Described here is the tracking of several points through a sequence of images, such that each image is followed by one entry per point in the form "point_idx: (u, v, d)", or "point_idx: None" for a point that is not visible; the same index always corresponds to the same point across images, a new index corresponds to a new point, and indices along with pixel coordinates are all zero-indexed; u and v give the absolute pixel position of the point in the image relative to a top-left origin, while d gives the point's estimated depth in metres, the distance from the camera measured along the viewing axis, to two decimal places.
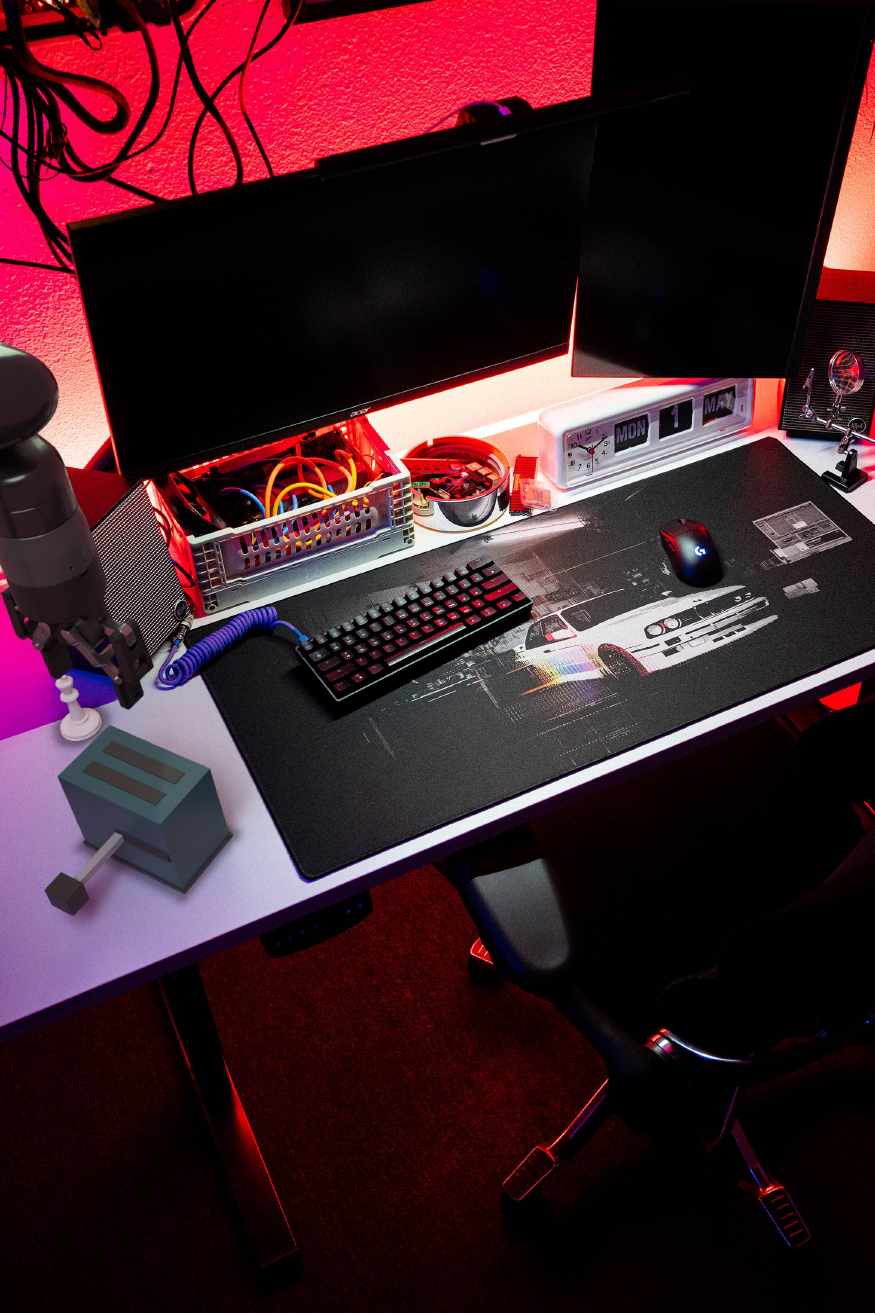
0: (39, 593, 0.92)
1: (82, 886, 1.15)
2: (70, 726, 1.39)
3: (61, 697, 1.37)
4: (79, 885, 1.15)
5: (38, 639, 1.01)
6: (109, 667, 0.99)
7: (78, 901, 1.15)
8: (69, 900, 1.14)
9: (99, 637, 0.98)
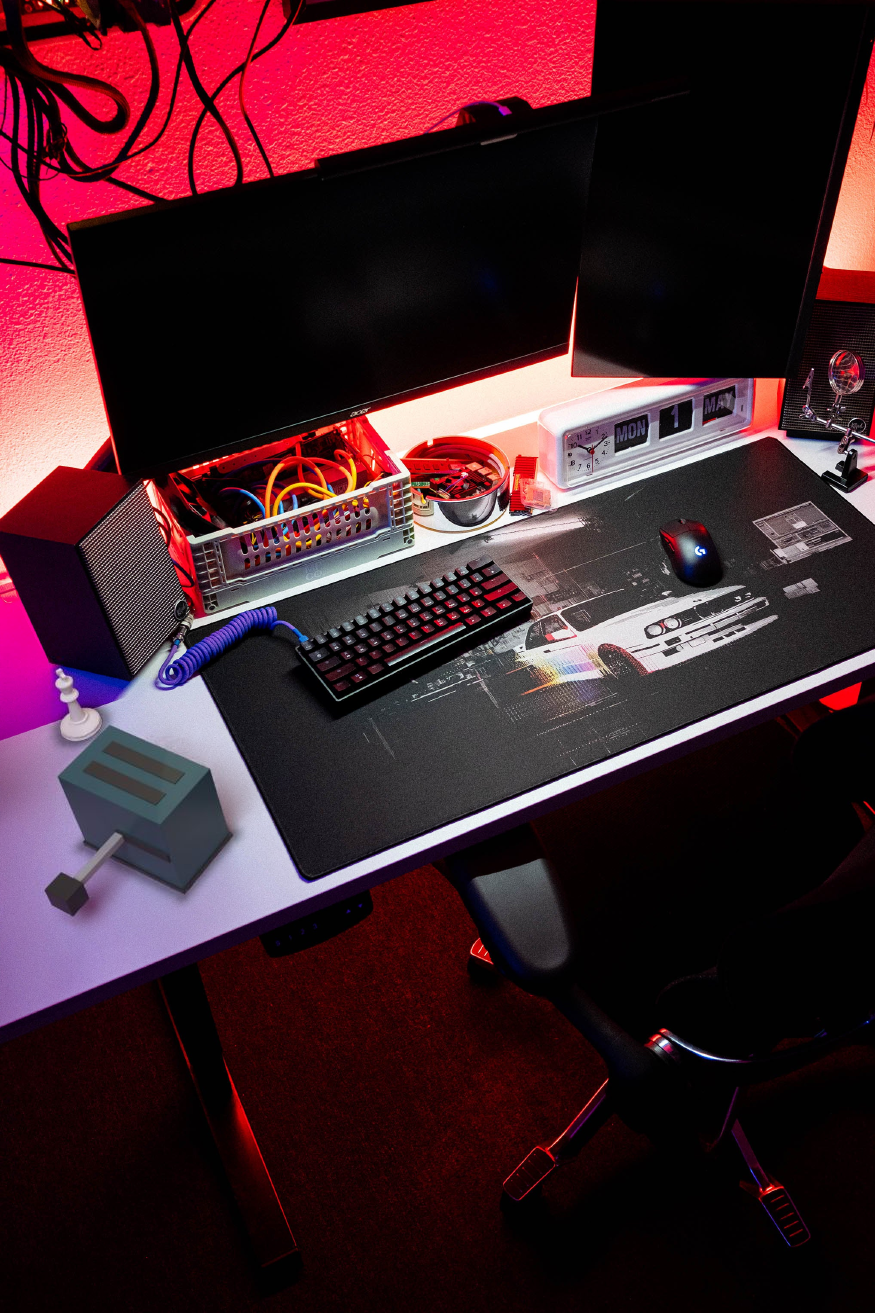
0: None
1: (82, 886, 1.15)
2: (70, 726, 1.39)
3: (61, 697, 1.37)
4: (79, 885, 1.15)
5: None
6: None
7: (78, 901, 1.15)
8: (69, 900, 1.14)
9: None
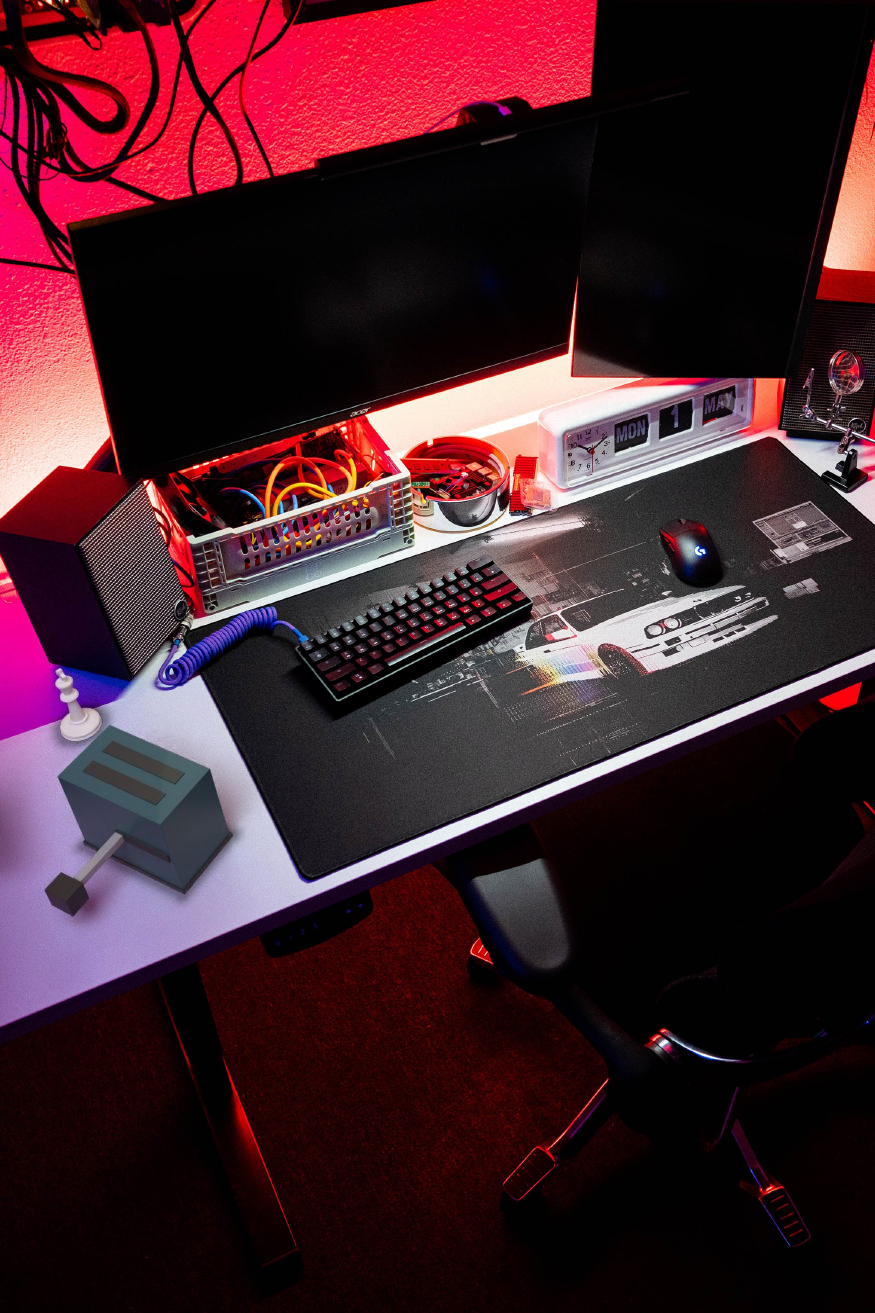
0: None
1: (82, 886, 1.15)
2: (70, 726, 1.39)
3: (61, 697, 1.37)
4: (79, 885, 1.15)
5: None
6: None
7: (78, 901, 1.15)
8: (69, 900, 1.14)
9: None
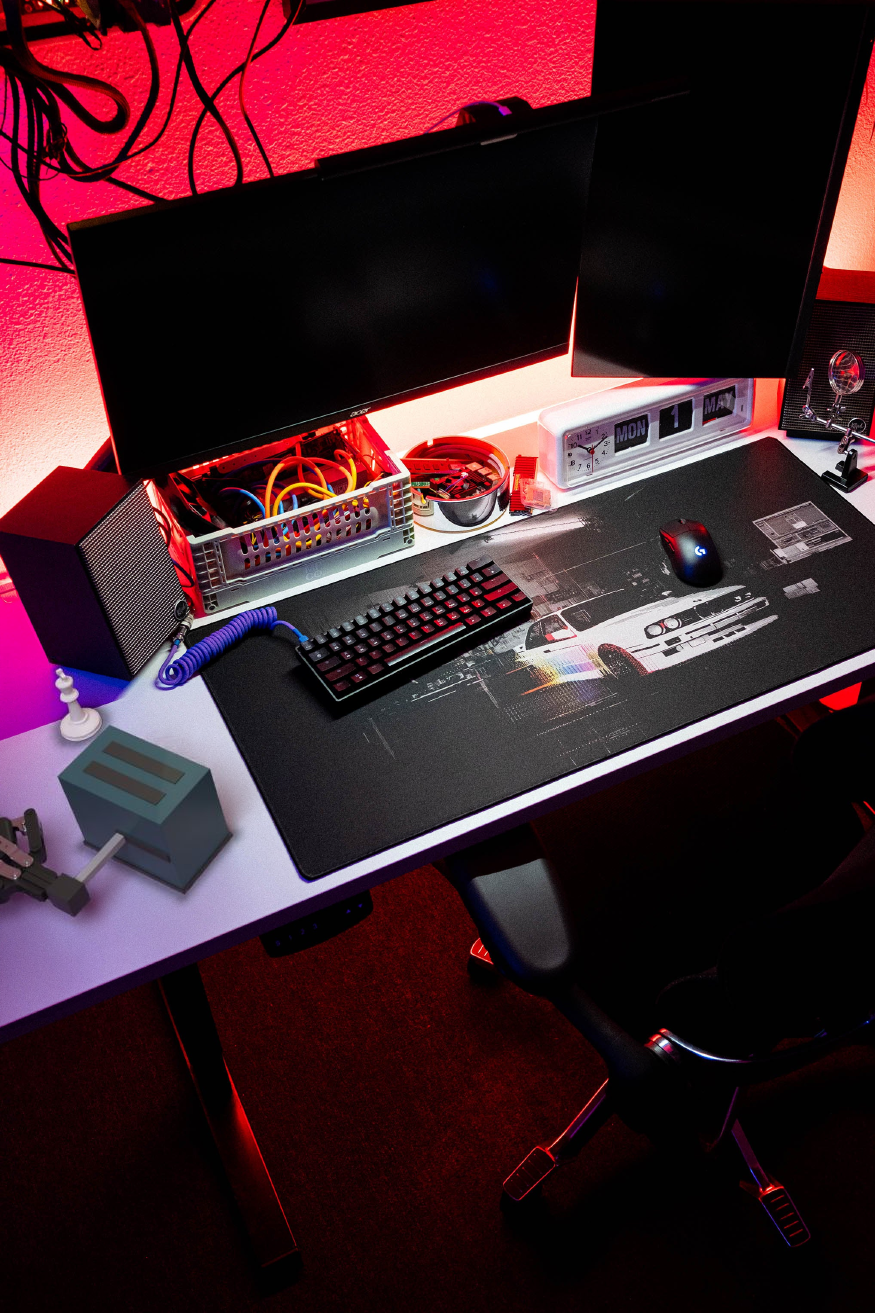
0: None
1: (83, 887, 1.15)
2: (70, 726, 1.39)
3: (61, 697, 1.37)
4: (80, 886, 1.15)
5: None
6: (22, 852, 1.18)
7: (79, 901, 1.15)
8: (70, 901, 1.14)
9: (11, 823, 1.21)
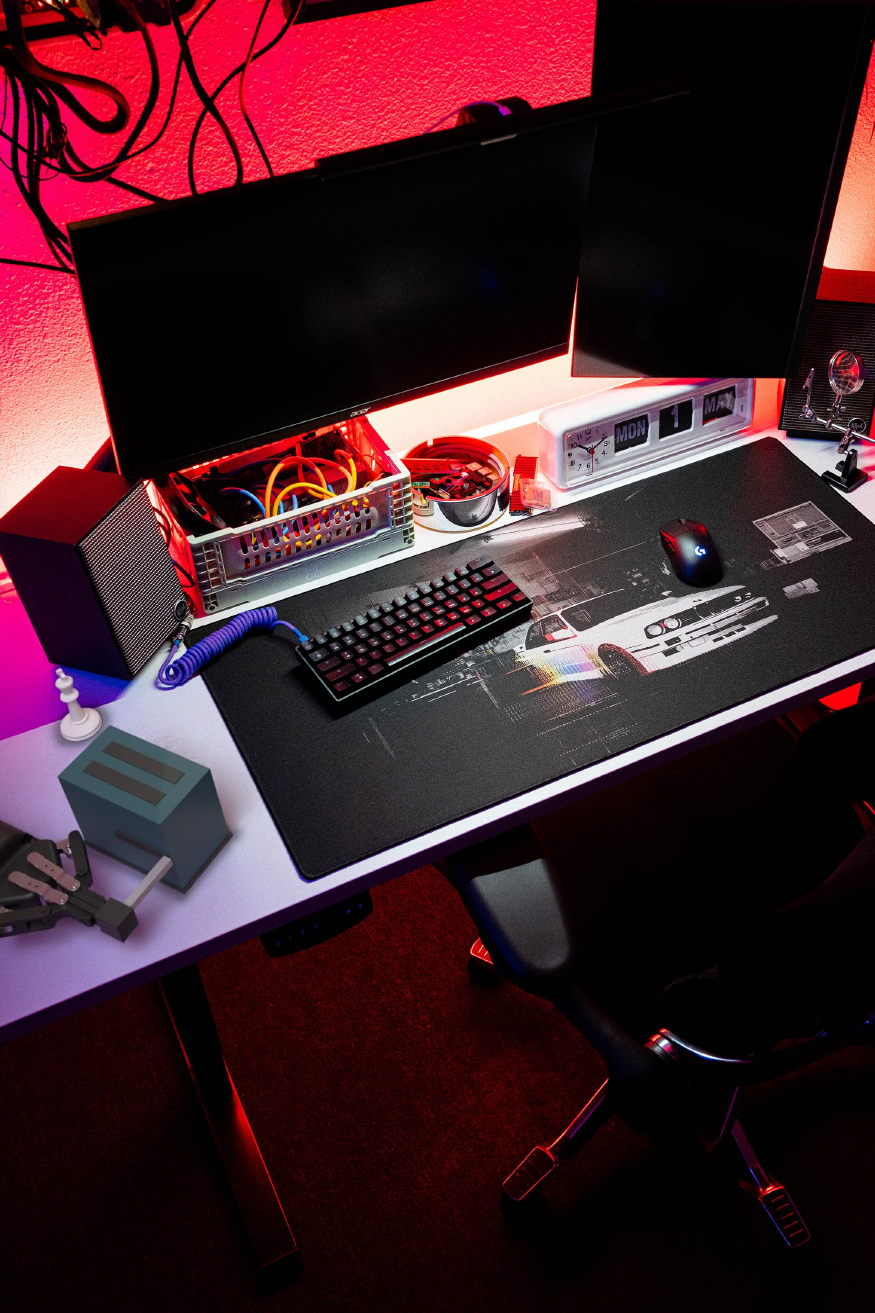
0: None
1: (132, 912, 1.13)
2: (70, 726, 1.39)
3: (61, 697, 1.37)
4: (129, 911, 1.12)
5: (41, 888, 1.14)
6: (68, 875, 1.16)
7: (128, 927, 1.13)
8: (120, 926, 1.11)
9: (55, 845, 1.19)
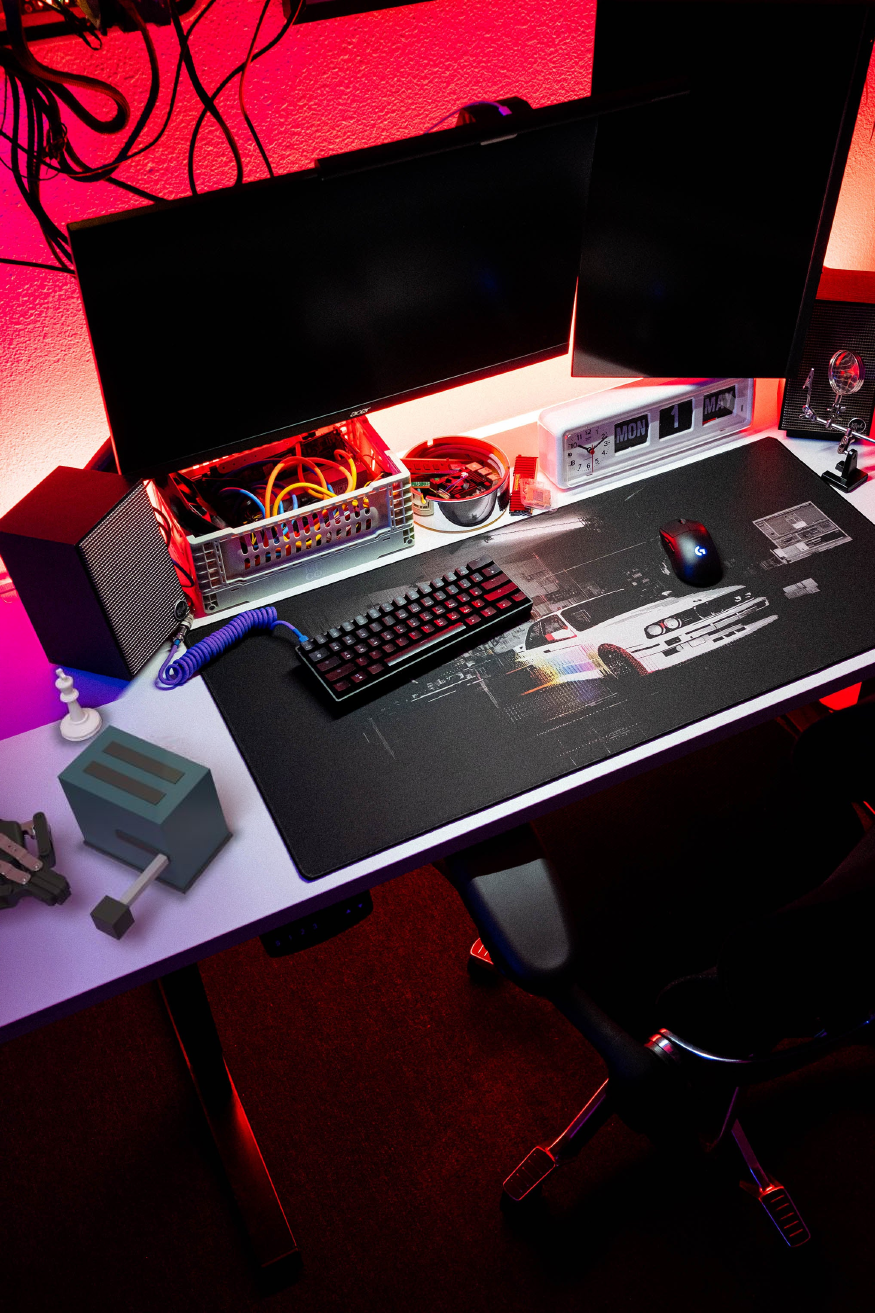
0: None
1: (128, 909, 1.13)
2: (70, 726, 1.39)
3: (61, 697, 1.37)
4: (125, 909, 1.12)
5: (3, 867, 1.16)
6: (31, 856, 1.18)
7: (124, 924, 1.13)
8: (115, 924, 1.11)
9: (20, 826, 1.21)
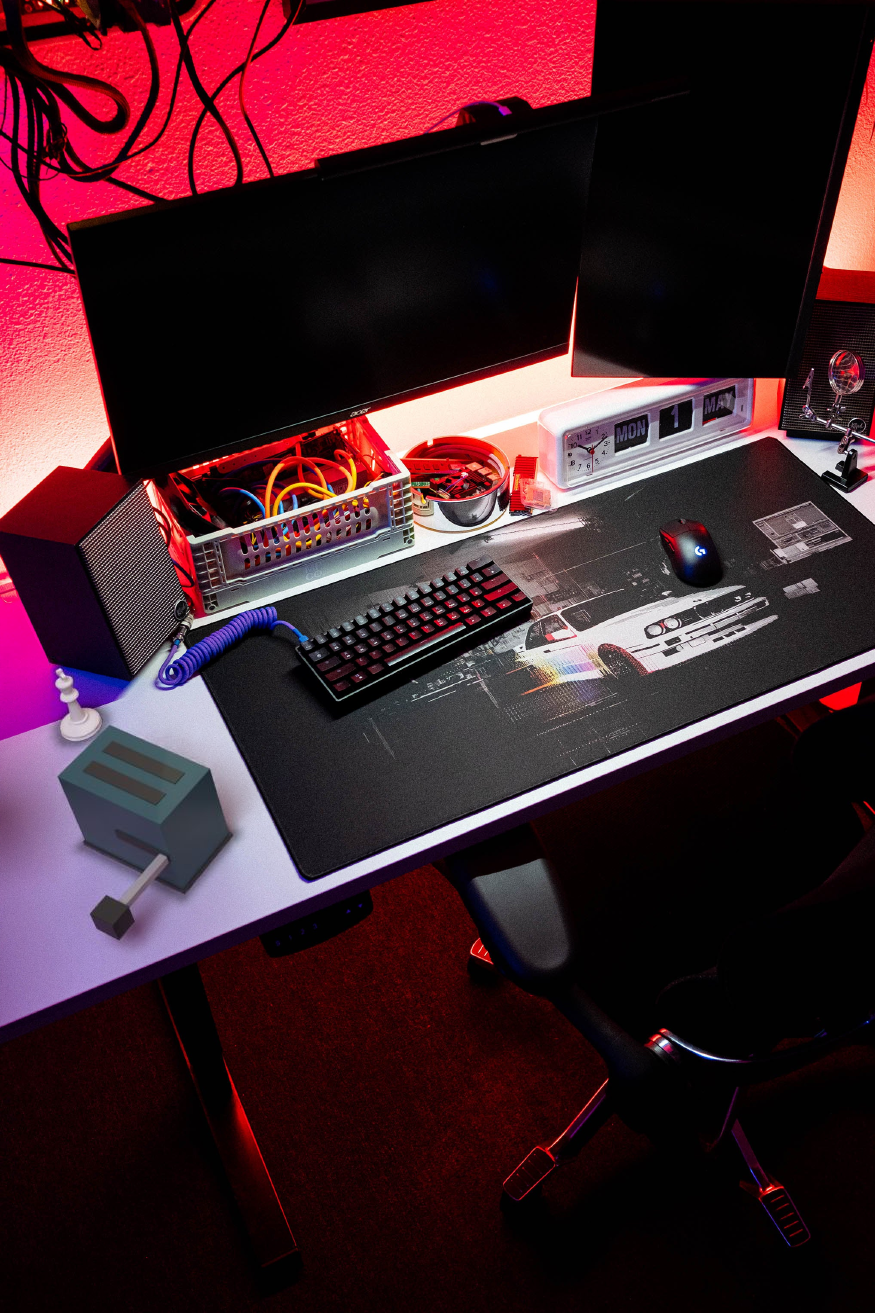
0: None
1: (128, 909, 1.13)
2: (70, 726, 1.39)
3: (61, 697, 1.37)
4: (125, 909, 1.12)
5: None
6: None
7: (124, 924, 1.13)
8: (115, 924, 1.11)
9: None
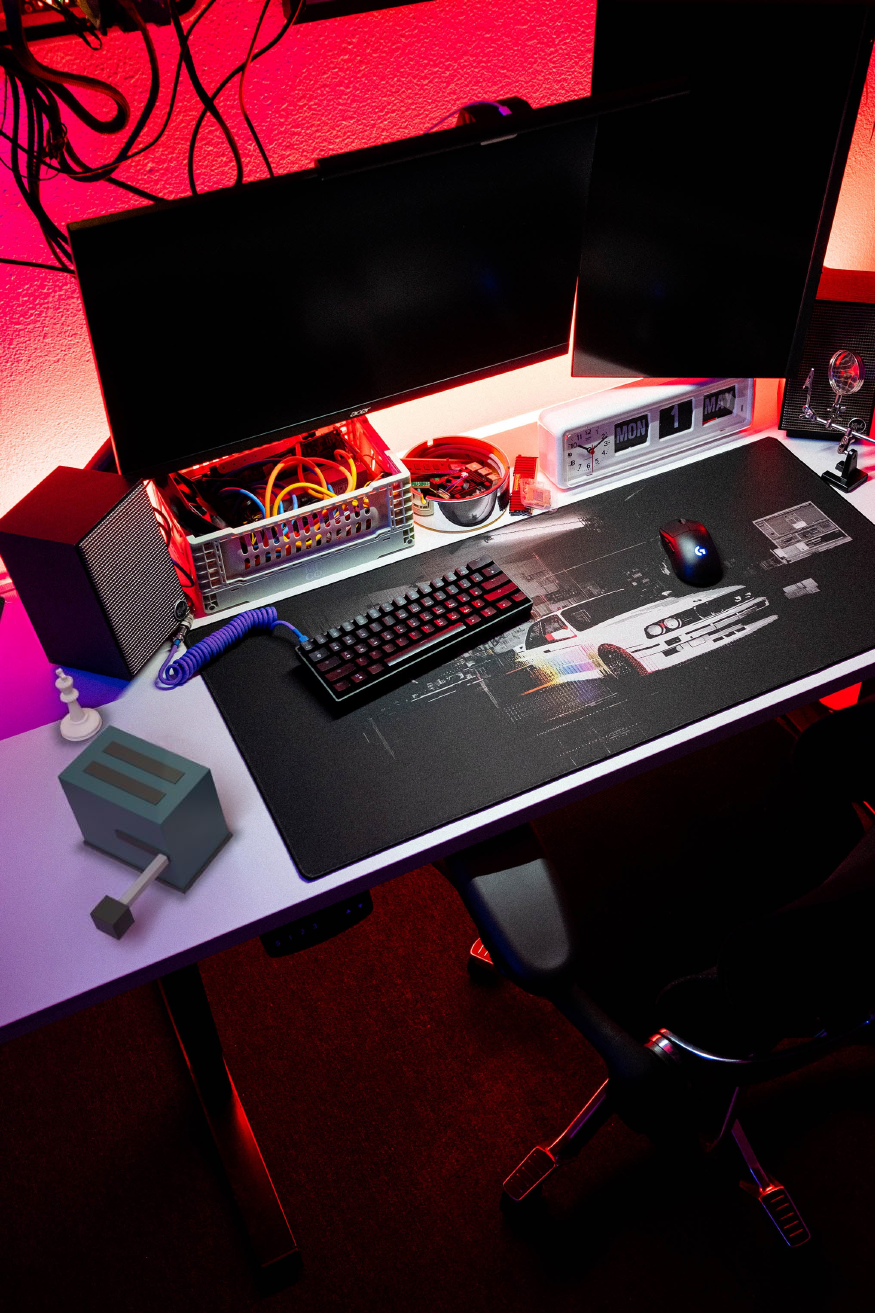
0: None
1: (128, 909, 1.13)
2: (70, 726, 1.39)
3: (61, 697, 1.37)
4: (125, 909, 1.12)
5: None
6: None
7: (124, 924, 1.13)
8: (115, 924, 1.11)
9: None
